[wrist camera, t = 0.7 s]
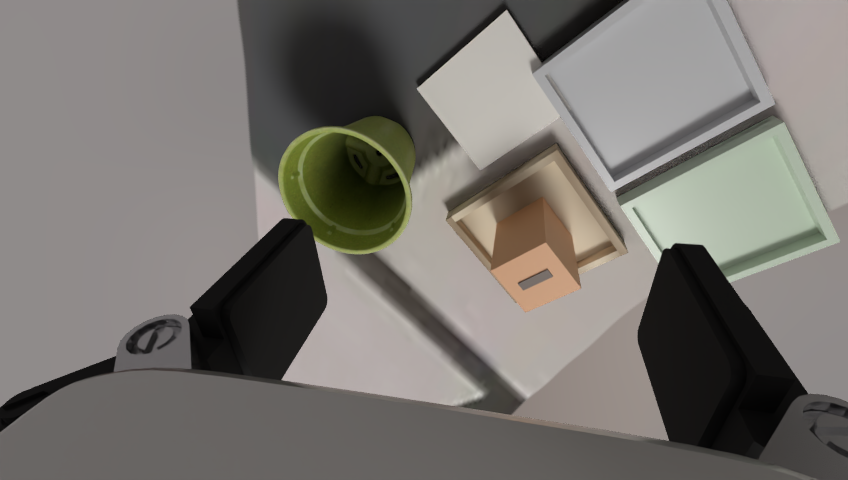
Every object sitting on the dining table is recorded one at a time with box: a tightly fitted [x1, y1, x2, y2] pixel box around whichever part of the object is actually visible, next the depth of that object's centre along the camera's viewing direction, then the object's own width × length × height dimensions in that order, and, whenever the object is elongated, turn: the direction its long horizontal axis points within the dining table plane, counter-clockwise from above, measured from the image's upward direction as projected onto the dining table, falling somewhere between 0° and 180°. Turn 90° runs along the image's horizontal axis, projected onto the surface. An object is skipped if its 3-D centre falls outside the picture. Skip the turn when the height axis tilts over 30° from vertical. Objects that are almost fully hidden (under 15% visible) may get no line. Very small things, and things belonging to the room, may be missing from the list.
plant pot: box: [278, 116, 415, 254], centre depth 31 cm, size 9×9×9 cm
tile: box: [417, 10, 571, 171], centre depth 30 cm, size 8×8×1 cm
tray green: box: [617, 116, 840, 283], centre depth 30 cm, size 11×11×2 cm
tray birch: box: [446, 144, 628, 303], centre depth 34 cm, size 11×11×2 cm
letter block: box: [490, 197, 581, 312], centre depth 31 cm, size 4×5×7 cm
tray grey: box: [532, 0, 775, 192], centre depth 27 cm, size 11×11×2 cm
